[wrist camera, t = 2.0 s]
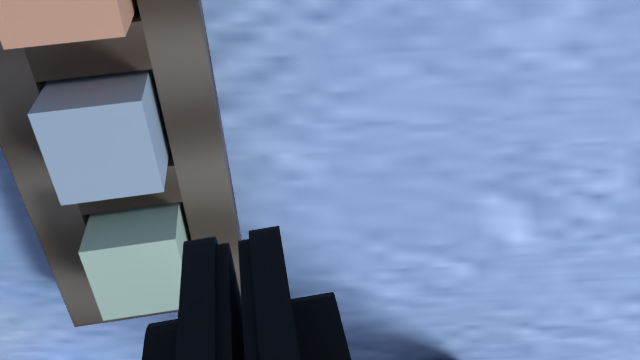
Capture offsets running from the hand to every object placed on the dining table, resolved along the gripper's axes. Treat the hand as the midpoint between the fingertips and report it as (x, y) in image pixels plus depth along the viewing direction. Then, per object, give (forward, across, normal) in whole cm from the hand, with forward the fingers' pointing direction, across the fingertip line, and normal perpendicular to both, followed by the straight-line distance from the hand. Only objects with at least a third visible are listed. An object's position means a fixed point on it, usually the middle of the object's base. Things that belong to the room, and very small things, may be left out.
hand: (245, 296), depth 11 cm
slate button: (+22, +7, +6) cm, 24 cm away
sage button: (+22, +7, +14) cm, 27 cm away
